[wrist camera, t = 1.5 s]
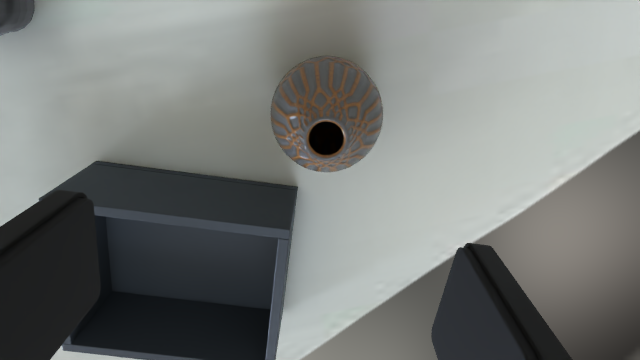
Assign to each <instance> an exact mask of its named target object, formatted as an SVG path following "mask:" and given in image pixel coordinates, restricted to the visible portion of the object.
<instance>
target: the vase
mask: <svg viewBox="0 0 640 360" xmlns="http://www.w3.org/2000/svg"><path fill="white" fill-rule="evenodd" d="M382 120H383V107H382V101H381V97H380V94H379V92H378V89H377V87H376V85H375V84H374V82H373V81H372V79H371V78H370V77H369V76H368V74H367V73H366V72H365V71H364V70H362V69H361V68H360V67H359V66H357V65H356V64H354V63H352V62H350V61H348V60H345V59H342V58H338V57H332V56H322V57H315V58H311V59H309V60H306V61H304V62H302V63H300V64H298V65H297V66H295V67H294V68H292V69H291V70H290V71H289V72H288V73H287V74H286V75H285V76H284V78H283V79H282V80H281V82H280V83H279V85H278V87H277V89H276V91H275V93H274V96H273V99H272V104H271V125H272V129H273V132H274V135H275V138H276V140H277V142H278V144H279V145H280V147H281V148H282V150H283V151H284V152H285V153H286V154H287V156H288V157H290V158H291V159H292V160H293V161H294V162H296V163H297V164H299V165H301V166H303V167H305V168H307V169H310V170H314V171H319V172H334V171H339V170H343V169H346V168H348V167H350V166H352V165H354V164H356V163H357V162H359V161H360V160H361V159H363V158H364V157H365V156H366V155H367V154H368V152H369V151H370V150H371V149H372V147H373V146H374V144H375V142H376V140H377V138H378V136H379V133H380V130H381V127H382Z"/></svg>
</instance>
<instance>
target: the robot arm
mask: <svg viewBox="0 0 640 360" xmlns="http://www.w3.org/2000/svg"><path fill="white" fill-rule="evenodd" d="M100 290H101V285H100V273H99V261H98V249H97V237H96V225H95V213H94V204H93V202H92V200H90V199H88V198H87V196H86V194H84V193H82V192H74V191H66V190H56V191H54V192H53V193H51V194H50V195H48V196H47V197H45V198H44V199H42V200H41V201H39V202H37V203H36V204H34V205H33V206H31V207H30V208H28V209H27V210H25V211H24V212H22V213H21V214H19V215H18V216H16V217H15V218H13V219H11V220H10V221H8V222H7V223H5V224H4V225H2V226H1V227H0V360H50V359H51V358H52V356H53V355H54V354H55V353H56V351H57V350H58V349H59V348H60V346H61V345H62V344H63V343H64V341H65V340H66V339H67V338H68V336H69V335H70V334H71V333H72V331H73V330H74V329H75V328H76V326H77V325H78V324H79V323H80V321H81V320H82V319H83V318H84V316H85V315H86V314H87V313H88V311H89V310H90V309H91V308H92V306H93V305H94V304H95V303H96V301H97V299H98V297H99V294H100ZM432 342H433V345H434V349H435V352H436V355H437V358H438V360H572V359H571V357H570V356H569V354H568V353H567V351H566V350H565V349H564V347H563V346H562V345H561V343H560V342H559V340H558V339H557V338H556V336H555V335H554V333H553V332H552V331H551V329H550V328H549V326H548V325H547V323H546V322H545V321H544V319H543V318H542V316H541V315H540V314H539V312H538V311H537V310H536V308H535V307H534V305H533V304H532V302H531V301H530V300H529V298H528V297H527V296H526V294H525V293H524V291H523V290H522V289H521V287H520V286H519V284H518V283H517V281H516V280H515V279H514V277H513V276H512V274H511V273H510V272H509V270H508V269H507V267H506V266H505V265H504V263H503V262H502V261H501V259H500V258H499V256H498V255H497V253H496V252H495V251H494V250H493V248H492V247H491V246H488V245H480V244H472V243H467V244H466V245H465V246H464V248H461V247H460V248H458V250H457V252H456V254H455V258H454V261H453V264H452V267H451V270H450V273H449V276H448V280H447V283H446V286H445V289H444V293H443V295H442V298H441V302H440V305H439V308H438V311H437V314H436V317H435V321H434V324H433V327H432Z"/></svg>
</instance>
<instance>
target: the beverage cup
mask: <svg viewBox="0 0 640 360" xmlns="http://www.w3.org/2000/svg"><path fill="white" fill-rule="evenodd" d="M33 13H34V0H0V36H1V35H3V34H6V33H9V32H14V31H18V30H20V29H22V28H24V27H25V26H26V25H27V24H28V23H29V22H30V21H31V19H32V16H33Z"/></svg>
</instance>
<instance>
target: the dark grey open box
mask: <svg viewBox="0 0 640 360" xmlns="http://www.w3.org/2000/svg"><path fill="white" fill-rule="evenodd" d="M56 190H66V191H74V192H82V193H84V194H86V196H87V198H88V199H90V200H92V202H93V204H94V213H95V225H96V237H97V249H98V261H99V273H100V285H101V290H100V294H99V297H98V299H97V301H96V303H95V304H94V305H93V306H92V308H91V309H90V310H89V311H88V313H87V314H86V315H85V316H84V318H83V319H82V320H81V321H80V323H79V324H78V325H77V326H76V328H75V329H74V330H73V331H72V333H71V334H70V335H69V336H68V338H67V339H66V340H65V341H64V343H63V344H62V348H63V351H72V352H81V353H90V354H99V355H108V356H117V357H126V358H134V359H143V360H275V359H276V352H277V346H278V339H279V332H280V326H281V319H282V312H283V304H284V296H285V288H286V280H287V271H288V263H289V255H290V247H291V239H292V230H293V222H294V214H295V206H296V198H297V190H298V187H293V186H286V185H278V184H270V183H262V182H255V181H247V180H239V179H231V178H224V177H216V176H208V175H200V174H193V173H185V172H177V171H169V170H162V169H154V168H146V167H139V166H131V165H123V164H115V163H108V162H100V161H96V162H94V163H92V164H91V165H90V166H88V167H87V168H85V169H83V170H82V171H80V172H79V173H77V174H76V175H74V176H73V177H71V178H70V179H68V180H67V181H65V182H64V183H62V184H61V185H59V186H58V187H56V188H54V189H53V190H51V191H50V192H48V193H47V194H45V195H44V196H42V197H41V198H39V201H41V200H42V199H44V198H45V197H47V196H48V195H50V194H51V193H53V192H54V191H56Z"/></svg>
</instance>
